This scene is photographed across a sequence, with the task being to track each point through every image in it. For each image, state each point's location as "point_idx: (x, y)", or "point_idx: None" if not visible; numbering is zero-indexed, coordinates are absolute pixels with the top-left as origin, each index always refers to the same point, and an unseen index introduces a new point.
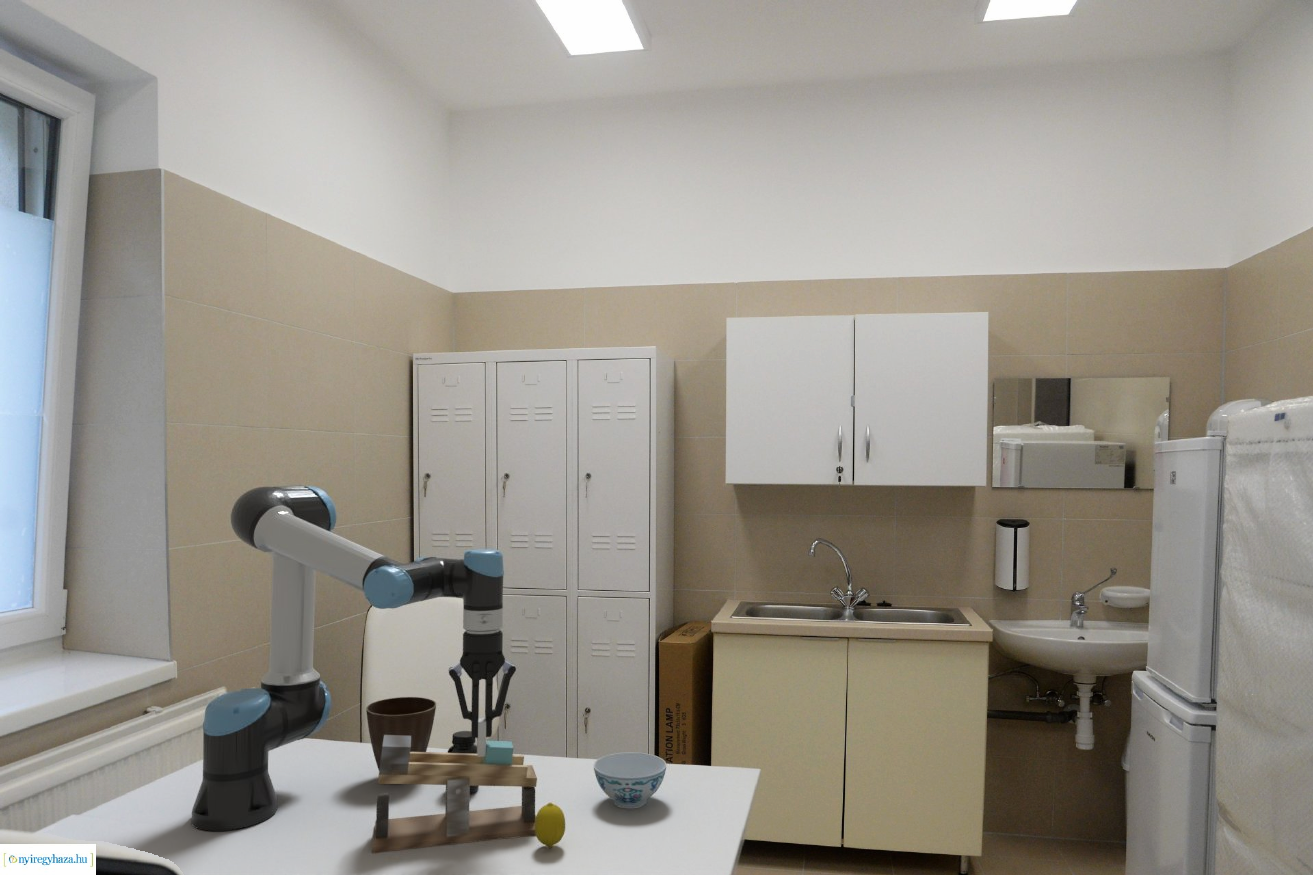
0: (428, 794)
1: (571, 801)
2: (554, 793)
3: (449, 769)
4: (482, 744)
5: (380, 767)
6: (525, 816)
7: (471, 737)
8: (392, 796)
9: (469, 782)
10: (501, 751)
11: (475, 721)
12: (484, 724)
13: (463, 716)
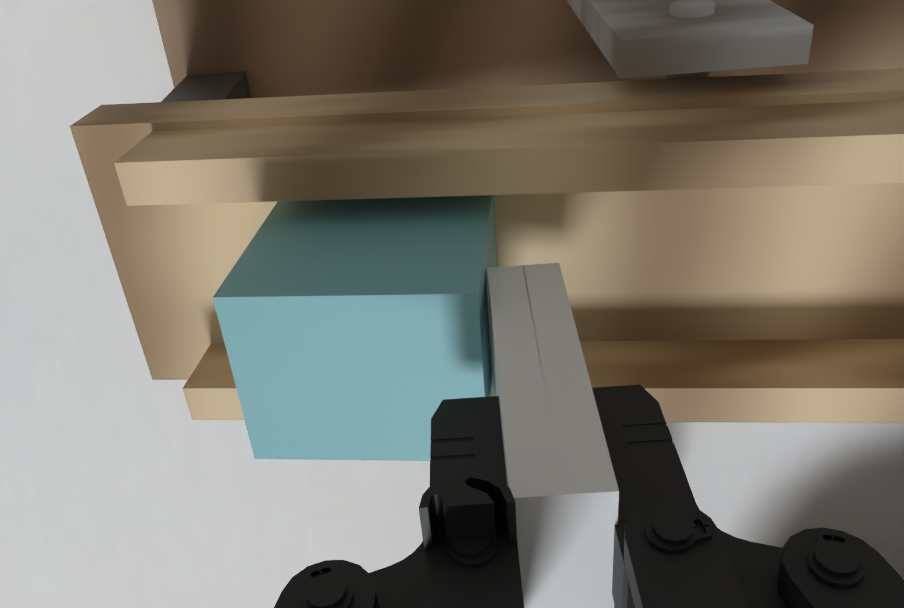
0: (709, 501)
1: (45, 345)
2: (144, 437)
3: (814, 124)
4: (528, 323)
5: None
6: (233, 81)
7: None
8: (860, 503)
9: (617, 35)
10: (336, 274)
11: (659, 504)
12: (529, 467)
13: (867, 555)
